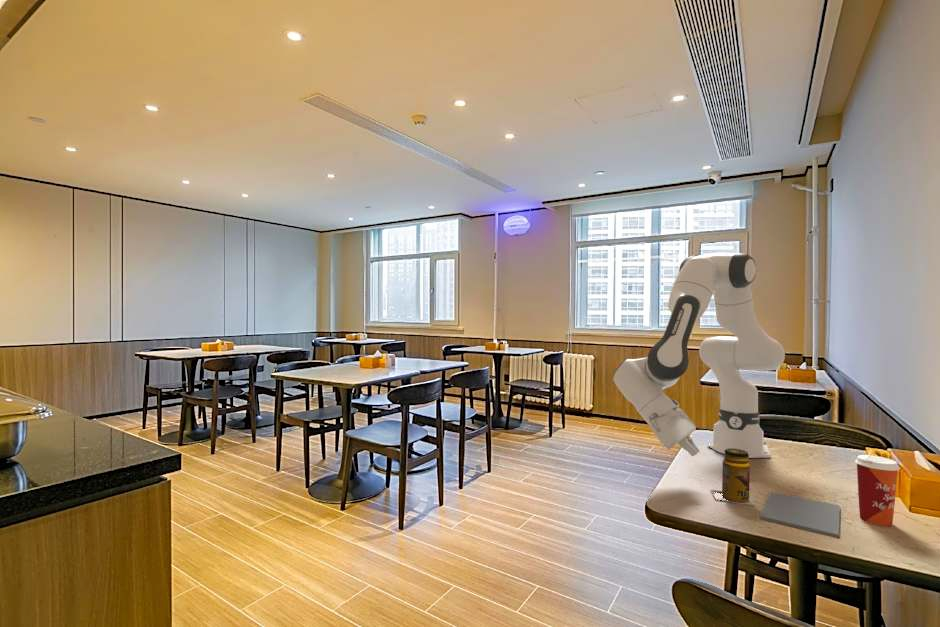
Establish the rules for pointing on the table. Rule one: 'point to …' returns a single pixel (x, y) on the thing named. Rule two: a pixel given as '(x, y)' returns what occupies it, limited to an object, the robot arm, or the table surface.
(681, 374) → the robot arm
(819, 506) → the slate mat
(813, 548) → the table surface
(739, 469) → the condiment
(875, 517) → the paper cup
